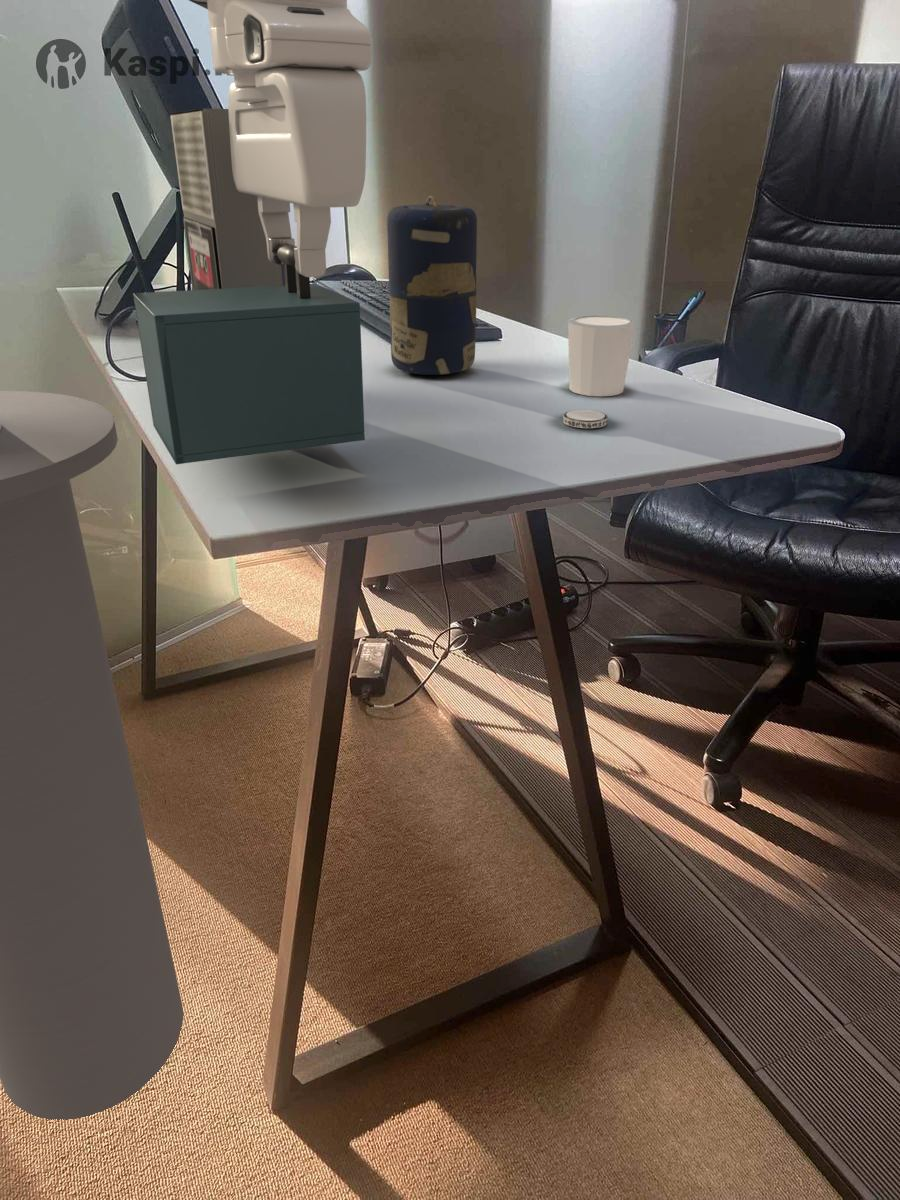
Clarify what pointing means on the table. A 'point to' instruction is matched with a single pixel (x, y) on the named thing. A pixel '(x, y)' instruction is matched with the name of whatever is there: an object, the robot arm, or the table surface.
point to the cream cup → (599, 354)
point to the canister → (432, 287)
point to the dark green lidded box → (252, 367)
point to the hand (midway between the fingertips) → (296, 269)
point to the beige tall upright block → (218, 208)
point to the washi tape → (585, 419)
